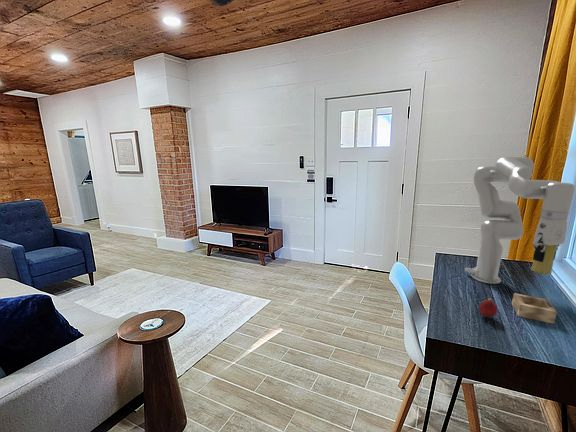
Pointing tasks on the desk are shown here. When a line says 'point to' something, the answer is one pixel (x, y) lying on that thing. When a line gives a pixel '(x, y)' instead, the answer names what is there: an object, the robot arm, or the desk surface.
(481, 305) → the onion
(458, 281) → the desk surface
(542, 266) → the vase
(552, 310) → the wooden box
